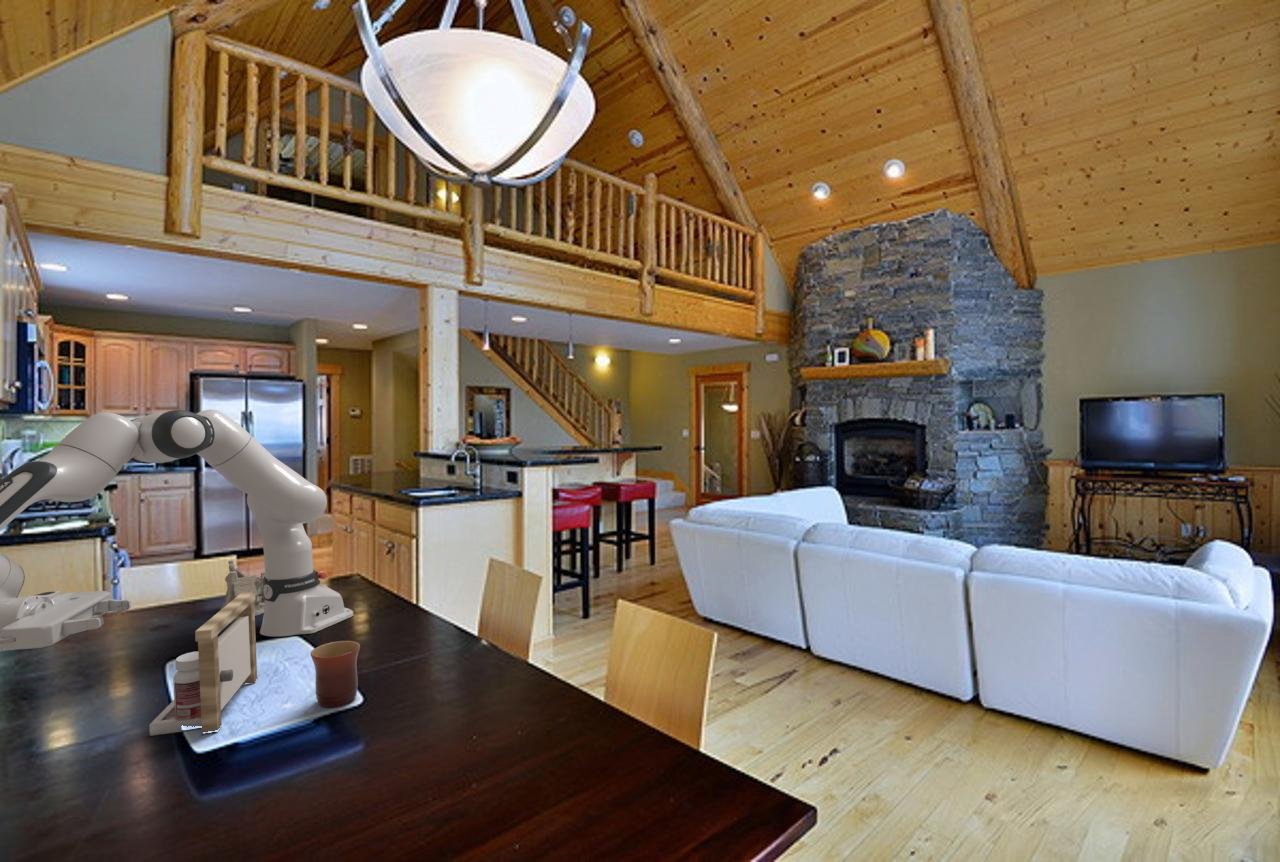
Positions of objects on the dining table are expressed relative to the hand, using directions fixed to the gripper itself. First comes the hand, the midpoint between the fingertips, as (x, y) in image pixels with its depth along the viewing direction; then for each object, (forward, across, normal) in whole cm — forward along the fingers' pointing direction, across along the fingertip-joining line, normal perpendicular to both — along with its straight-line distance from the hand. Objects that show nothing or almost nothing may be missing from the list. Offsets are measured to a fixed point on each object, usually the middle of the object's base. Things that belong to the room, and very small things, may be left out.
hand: (115, 613), depth 114 cm
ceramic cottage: (+1, +70, +22) cm, 73 cm away
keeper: (+12, 0, +21) cm, 24 cm away
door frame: (+16, +3, +21) cm, 27 cm away
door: (+17, +3, +19) cm, 26 cm away
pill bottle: (+11, 0, +21) cm, 24 cm away
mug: (+36, 0, +22) cm, 42 cm away
